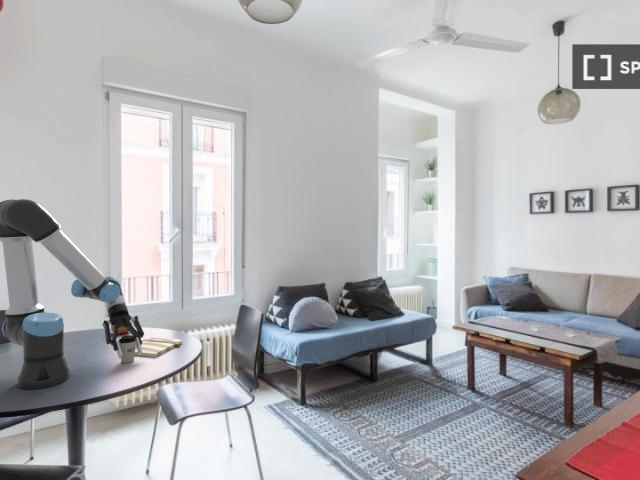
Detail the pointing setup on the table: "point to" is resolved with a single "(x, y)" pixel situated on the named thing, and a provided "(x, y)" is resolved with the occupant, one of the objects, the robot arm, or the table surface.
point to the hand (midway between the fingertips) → (130, 354)
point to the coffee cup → (127, 348)
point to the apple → (121, 329)
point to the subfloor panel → (157, 346)
